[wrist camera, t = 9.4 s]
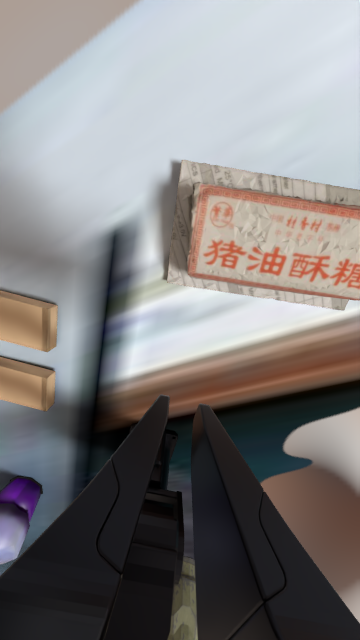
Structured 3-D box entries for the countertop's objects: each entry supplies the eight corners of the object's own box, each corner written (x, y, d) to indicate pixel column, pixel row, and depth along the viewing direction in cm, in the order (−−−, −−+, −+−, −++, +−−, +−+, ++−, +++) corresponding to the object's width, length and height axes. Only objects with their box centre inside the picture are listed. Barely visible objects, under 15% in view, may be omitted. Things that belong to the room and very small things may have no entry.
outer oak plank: (56, 346, 22) (47, 352, 21) (-22, 325, 22) (-36, 330, 21) (57, 305, 20) (47, 309, 19) (-27, 283, 20) (-43, 285, 19)
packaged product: (457, 180, 12) (379, 324, 16) (384, 199, 17) (335, 307, 20) (178, 133, 12) (160, 290, 15) (181, 166, 16) (166, 281, 20)
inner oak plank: (54, 403, 25) (46, 411, 23) (-15, 384, 25) (-27, 392, 23) (55, 371, 23) (46, 378, 22) (-19, 351, 23) (-32, 357, 22)
